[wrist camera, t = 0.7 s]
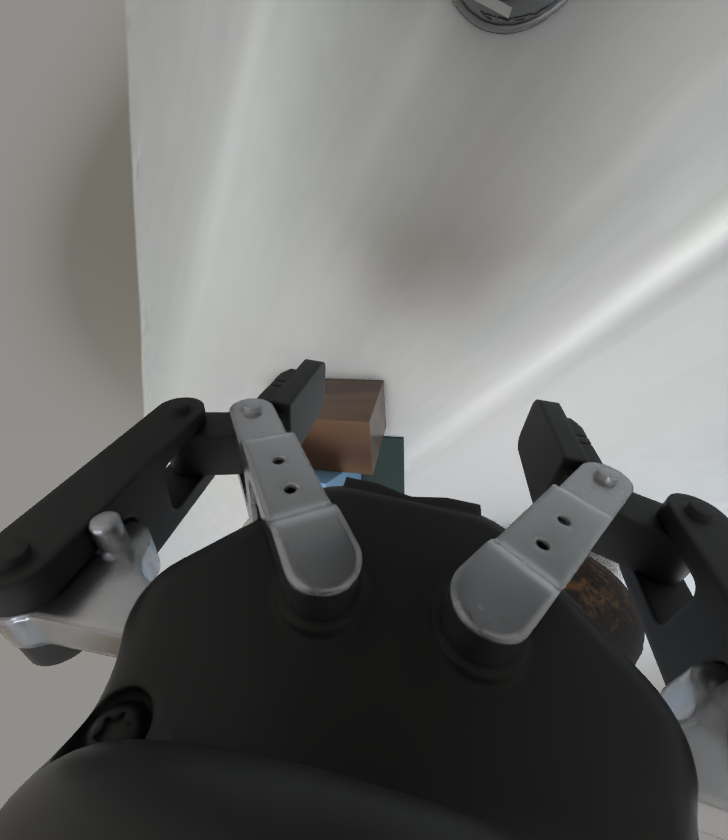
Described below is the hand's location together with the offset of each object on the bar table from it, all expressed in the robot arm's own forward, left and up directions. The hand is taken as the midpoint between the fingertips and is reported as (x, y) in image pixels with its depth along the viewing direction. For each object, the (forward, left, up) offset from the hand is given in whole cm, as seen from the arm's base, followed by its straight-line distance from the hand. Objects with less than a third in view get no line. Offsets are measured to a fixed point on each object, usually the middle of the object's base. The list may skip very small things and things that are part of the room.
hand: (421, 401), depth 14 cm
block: (+12, -11, -21) cm, 27 cm away
